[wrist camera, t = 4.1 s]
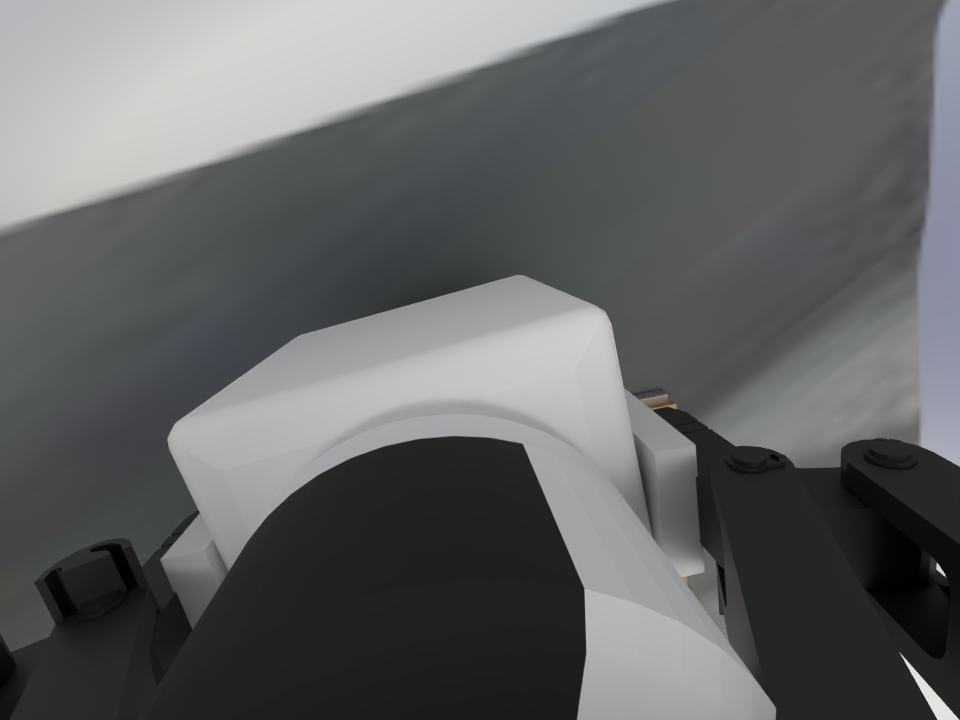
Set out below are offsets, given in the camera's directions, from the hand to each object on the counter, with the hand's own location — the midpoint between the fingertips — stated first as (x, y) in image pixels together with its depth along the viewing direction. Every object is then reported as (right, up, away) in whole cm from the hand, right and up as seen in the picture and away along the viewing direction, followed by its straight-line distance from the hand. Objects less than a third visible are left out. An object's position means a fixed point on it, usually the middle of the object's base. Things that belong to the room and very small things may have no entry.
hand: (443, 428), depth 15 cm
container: (0, 0, +2) cm, 2 cm away
